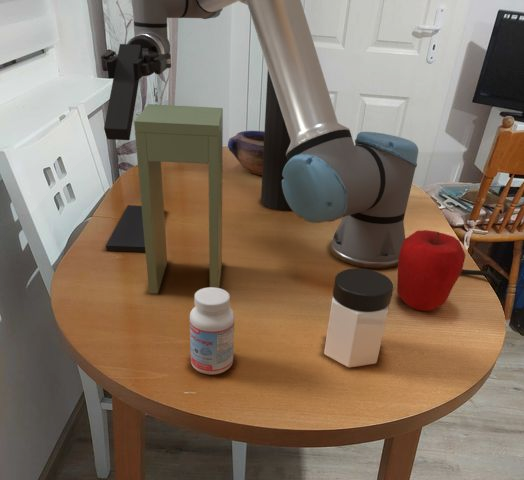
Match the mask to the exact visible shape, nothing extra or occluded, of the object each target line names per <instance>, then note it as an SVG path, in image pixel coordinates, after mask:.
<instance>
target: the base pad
mask: <svg viewBox="0 0 524 480" xmlns="http://www.w3.org/2000/svg"><path fill="white" fill-rule="evenodd" d="M105 250H106V251H107V252H125V253H146V251H145V240H144V229H143V217H142V206H141V205H135V204H134V205H133V204H128V205H127V206H126V207H125V210H124V211H123V213H122V215H121V217H120V218H119V221H118V222H117V223H116V226H115V228H114V229H113V231H112V233H111V235H110V237H109V239H108V241H107V242H106V244H105Z"/></svg>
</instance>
